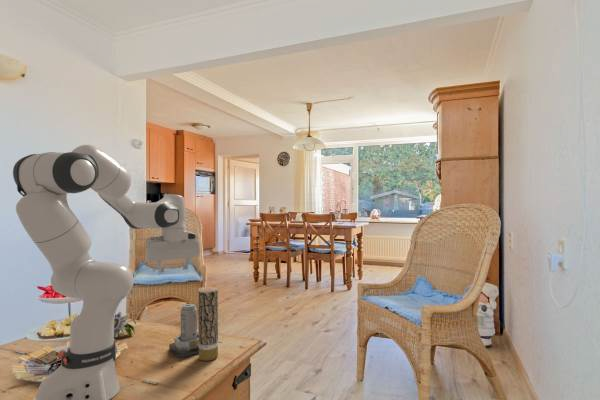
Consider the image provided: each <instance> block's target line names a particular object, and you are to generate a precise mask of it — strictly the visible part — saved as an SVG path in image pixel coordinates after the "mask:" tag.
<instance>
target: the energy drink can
mask: <svg viewBox="0 0 600 400" xmlns="http://www.w3.org/2000/svg"><path fill="white" fill-rule="evenodd" d="M197 332H198V308H197V306H196V304H195V303H192V302H191V303H185V304H183V305H182V307H181V308H180V334H181V341H191V340H194V339H197Z"/></svg>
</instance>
